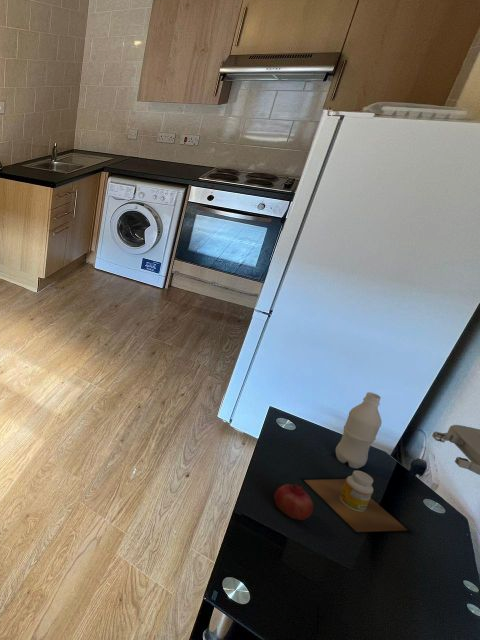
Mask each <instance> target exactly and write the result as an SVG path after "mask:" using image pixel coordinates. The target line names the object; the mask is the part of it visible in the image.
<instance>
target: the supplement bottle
mask: <svg viewBox="0 0 480 640" xmlns="http://www.w3.org/2000/svg"><path fill="white" fill-rule="evenodd" d="M345 479H346V481H345V484H344V487H343V489H342V492H341V494H340V500H341V501H342V502H343V503H344V504H345V505H346V506H347V507H349V508H351V509H353V510H355V511H360V512H362V511H365V510H366V508H367V505H368V503H369V500H370V498H372V496H373V493H374V487H373V483H374V478H373V477H372V476H371V475H370V474H368V473H366V472H364V471H362V470H359V469H358V470H353V471H352V474H351V475H349V476H347V477H346V478H345Z"/></svg>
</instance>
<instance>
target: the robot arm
mask: <svg viewBox="0 0 480 640" xmlns="http://www.w3.org/2000/svg"><path fill="white" fill-rule="evenodd" d="M431 436H432V438H433V439H434V440H435V441H436V442H441V443H445V442H450V443H451V444H453V445H455V446H456V447H457V448H458V449H459V450H460V452H461V453H462V454H463V455H464V456H465V458H464V457H460V456H457V457H455V460H454V463H455V464H456V465H457V467H459V468H461V469H466V470H468V471H471V472H472V473H475V474H476V475H479V476H480V428H475V427H471V426H466V425H460V424H452V425H450V426H449V428H448V430H447V432H441V431H433V433H432V435H431Z"/></svg>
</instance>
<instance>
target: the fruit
mask: <svg viewBox="0 0 480 640" xmlns="http://www.w3.org/2000/svg"><path fill="white" fill-rule="evenodd" d="M273 498H274V501H275V505H276V507H277V508H278V510H280V511H281V512H282V513H283V514H284V515H286V516H288V517H289V518H291V519H293V520H294V519H295V520H299V521H304V520H307V519H308V518H310V517H311V516H312V514H313V511H314V502H313V500H312V498H311V496H310V494H309V493H307V492H306V490H304V488H303V485H301V484H299V483H293V484H289V483H285V484H283V485H281V486H280V487H278V488H277V489H276V491H275V493H274V495H273Z"/></svg>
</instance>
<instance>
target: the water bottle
mask: <svg viewBox="0 0 480 640" xmlns="http://www.w3.org/2000/svg"><path fill="white" fill-rule="evenodd" d="M362 400H363V401H362V402H361V403H359V404H358V405H356V406H354V407H353V408H351V409H350V410H349V412H348V416H347V419H346V422H345V424H344V426H343V433H342V436H341V439H340V441H339V442H338V444H336V447H335V451H334V452H335V456H336V457H335V458H336V459H337V460H338V461H339V463H341V464H346V463H348V467H350V468H352V469H360V468H363V467H364V466H366V464H367V461H368V459H369V450H370V448H371V446H372V444H373V443H374V442H375V440H376V437H377V435H378V432H379V430H380V427H382V418H381V415H380V411H379V406H380V404H381V402H380V401H381V396H380V395H379V394H377V393H374V392H366V394H365V396H364V397H363V399H362Z"/></svg>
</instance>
